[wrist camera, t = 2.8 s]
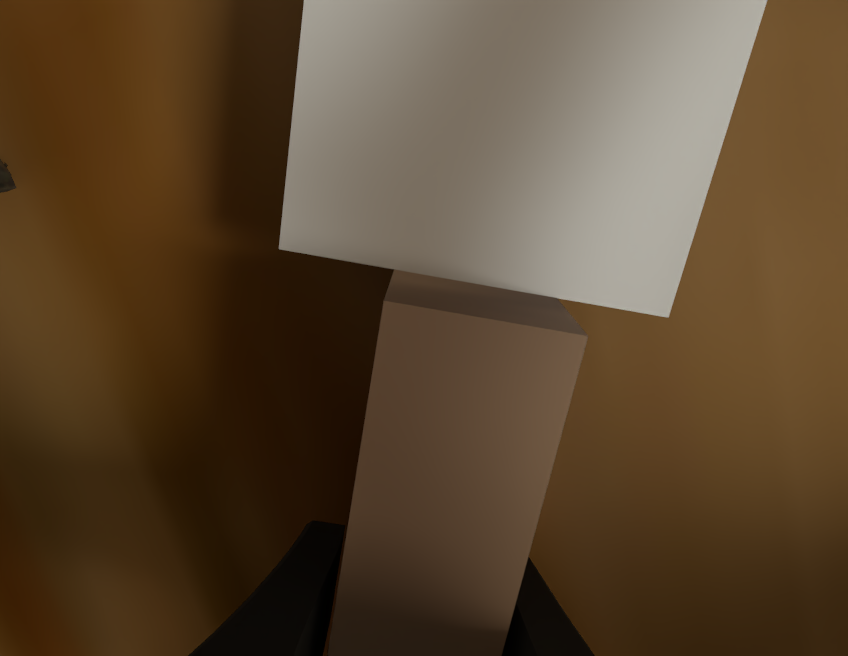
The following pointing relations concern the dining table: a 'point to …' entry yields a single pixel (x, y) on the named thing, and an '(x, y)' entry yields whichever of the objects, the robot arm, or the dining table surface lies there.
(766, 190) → the dining table surface
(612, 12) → the turner
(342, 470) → the dining table surface
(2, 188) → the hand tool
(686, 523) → the dining table surface
